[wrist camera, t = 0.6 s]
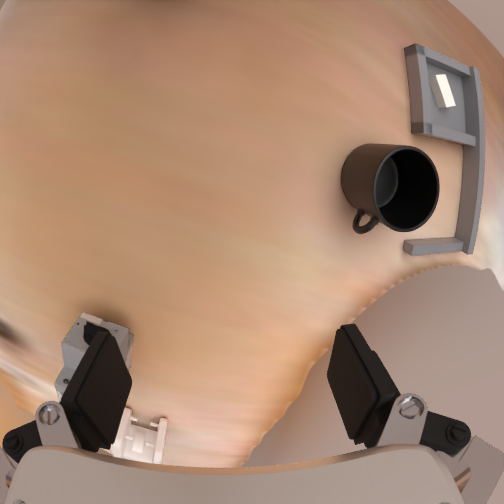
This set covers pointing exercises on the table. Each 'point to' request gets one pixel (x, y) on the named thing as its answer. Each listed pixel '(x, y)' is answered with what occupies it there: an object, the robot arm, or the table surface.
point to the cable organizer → (139, 440)
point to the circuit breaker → (80, 342)
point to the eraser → (441, 91)
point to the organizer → (450, 137)
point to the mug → (390, 186)
